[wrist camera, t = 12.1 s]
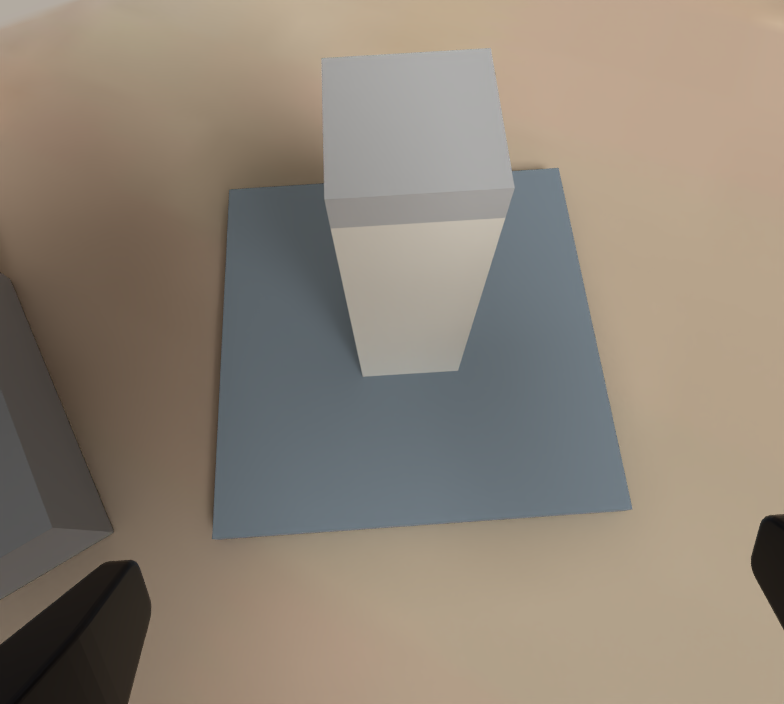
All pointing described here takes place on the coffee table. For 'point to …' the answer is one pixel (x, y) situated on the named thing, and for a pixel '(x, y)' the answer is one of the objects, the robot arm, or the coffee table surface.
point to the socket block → (38, 463)
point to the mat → (406, 385)
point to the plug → (414, 199)
